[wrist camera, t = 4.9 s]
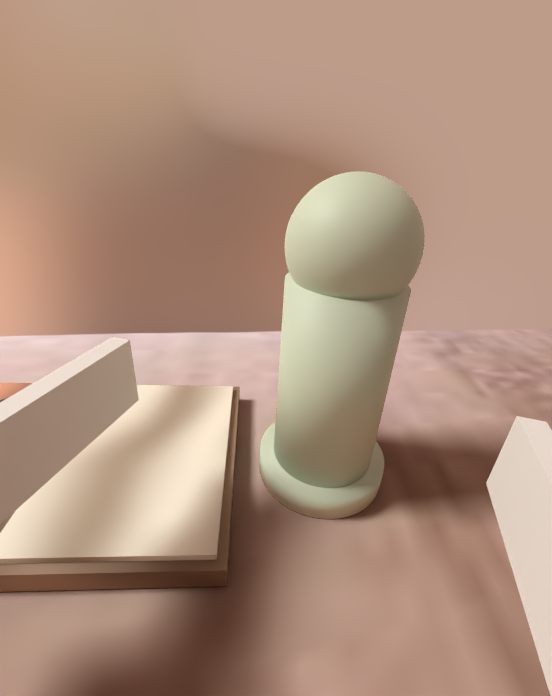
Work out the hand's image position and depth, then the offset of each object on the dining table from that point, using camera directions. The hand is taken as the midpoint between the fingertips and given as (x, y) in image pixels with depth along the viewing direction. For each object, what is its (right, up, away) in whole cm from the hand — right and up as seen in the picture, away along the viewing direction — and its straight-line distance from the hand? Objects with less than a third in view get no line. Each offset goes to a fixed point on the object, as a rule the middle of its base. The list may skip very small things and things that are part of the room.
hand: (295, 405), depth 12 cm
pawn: (+2, -4, +7) cm, 8 cm away
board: (-12, -4, +6) cm, 14 cm away
